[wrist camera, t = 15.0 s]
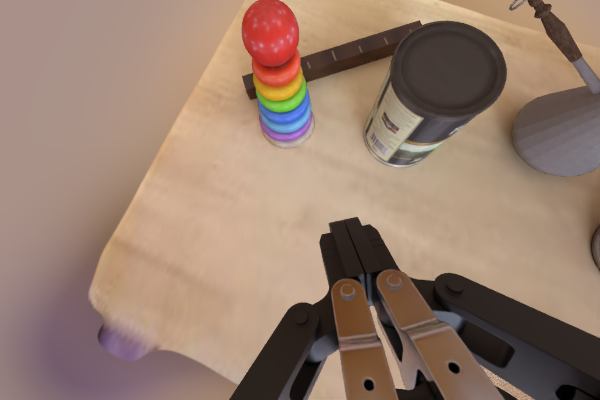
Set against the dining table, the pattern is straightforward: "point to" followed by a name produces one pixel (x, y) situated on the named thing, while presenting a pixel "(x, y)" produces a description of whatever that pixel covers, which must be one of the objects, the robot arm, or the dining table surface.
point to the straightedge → (346, 55)
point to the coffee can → (433, 90)
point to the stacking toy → (278, 73)
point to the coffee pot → (561, 113)
